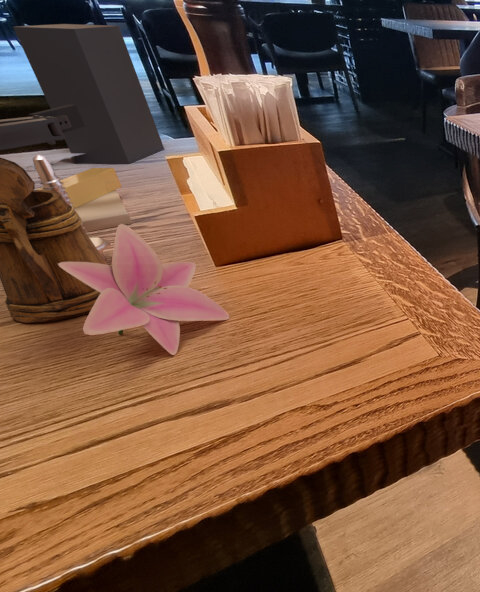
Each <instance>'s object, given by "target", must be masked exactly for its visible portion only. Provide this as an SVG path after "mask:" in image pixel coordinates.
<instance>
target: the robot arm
mask: <svg viewBox="0 0 480 592" xmlns="http://www.w3.org/2000/svg"><path fill="white" fill-rule="evenodd" d="M84 126H85V125H84V123H83V120H82V118H81V116H80V113H79V111H78V109H77V106H76V105H66V106H61V107H57V108H53V109H45V110H41V111H36V112H32V113H28V114H27V116H24V117H23V116H22V117H14V118H13V117H12V118H5V119H0V151H4V150H5V151H6V150H10V149H16V148H22V147H29V146H34V145H39V144H45V143H47V144H48V145H50V146H52V145H56V144H57V143H56V141H57V142H60V141H65V139H66V138H65V136H64V134H63V133H64V132H67V131H71V130H74V129H77V128H81V127H84Z"/></svg>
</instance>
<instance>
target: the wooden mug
mask: <svg viewBox="0 0 480 592" xmlns="http://www.w3.org/2000/svg"><path fill="white" fill-rule="evenodd" d="M81 224H82V220H81V218H80V217H79V215H78V214H77V212H76V211H75V210H74V208H73V207H72V206H71V205H70V204H67V203H66V201H65V200H64V198H63V197H62V196H61V194H60V193H59V192H57V191H50V190H37V189H36V185H35V181H34V180H33V179H32V177H31V176H30V175H29V173H28V172H27V171H26V170H25V168H23V167H22V166H21V165H19V164H18V163H17V162H14V161H12V160H9V159H6V158H4V157H0V283H1V284H2V287H3V290H4V293H5V295H6V297H5V298H4V303H5V305H6V307H7V310H8V312H9V315H10V317H11V318H12V319H14V320H15V321H16V322H21V323H28V324H29V323H31V324H34V323H37V324H38V323H51V322H58V321H63V320H66V319H71V318H77V317H80V316H83V315H87V314H88V315H89V313H90V311H91V309H92V307H93V306H94V304H95V302H96V300H97V298H98V297H99V295H100V294H101V293H100V292H98V291H97V290H95V289H93V288H92V287H90V286H88V285H87V284H85V283H84V282H82V281H80V280H79V279H77V278H76V277H74V276H72V275H71V274H69V273H68V272H66V271H65V270H63V269H62V268H61V267H60V266H59V265H58V263H61V262H90V263H100V264H106V265H109V264H108V263H107V262H106V259H105V260H104V258H103V257H102V256H101V254H100V253H99V251H98V250H97V248H96V247H95V245H94V244H93V243H92V241H91V240H90V238H91V237H90V236H89V235H88V233H87V234H86V232H85V231H84V229H83V227H82V225H81ZM88 236H89V237H88Z"/></svg>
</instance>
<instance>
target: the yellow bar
mask: <svg viewBox="0 0 480 592" xmlns="http://www.w3.org/2000/svg"><path fill="white" fill-rule="evenodd" d="M59 181H60V182H63V183H64V184H63V185H62V186H63V187H65V188H66V190H65V192H67V193H68V195H67V196H68V197H70V198H71V200H70V202H72V203H73V205H72V207H75V208H77V207H79V206H81V205H84V204H86V203H88V202H90V201H92V200H94V199H96V198H99V197H101V196H103V195H105V194H107V193H109V192H112V191H114V190H116V191H117V190H118V189H120V188H122V187H123V186H122V184H121V181H120V179H119V177H118V174H117V171H116V169H115V167H91V168H89V169H86V170H83V171H81V172H77V173H75V174H73V175H71V176H68V177H66V178H63V179H60V180H59ZM36 190H43V186H42V187H40V188H37V189H36Z"/></svg>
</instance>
